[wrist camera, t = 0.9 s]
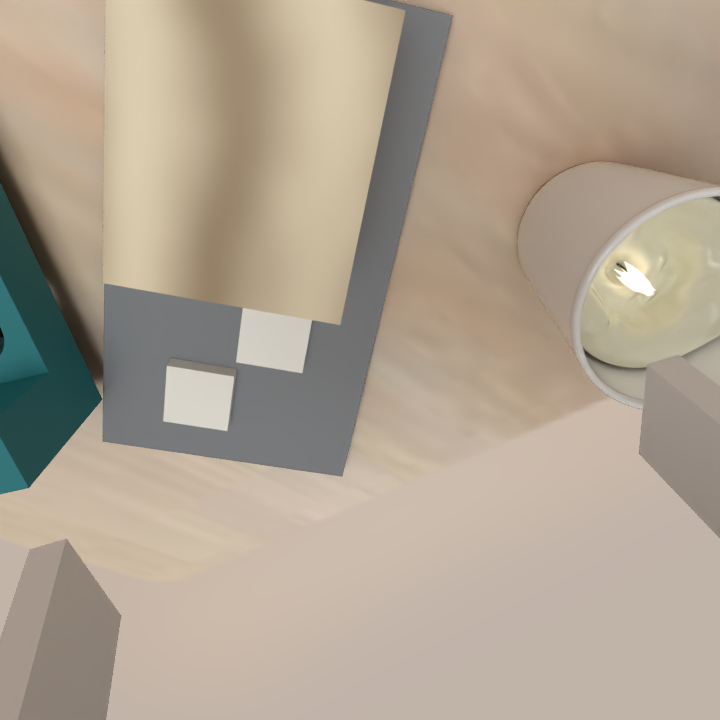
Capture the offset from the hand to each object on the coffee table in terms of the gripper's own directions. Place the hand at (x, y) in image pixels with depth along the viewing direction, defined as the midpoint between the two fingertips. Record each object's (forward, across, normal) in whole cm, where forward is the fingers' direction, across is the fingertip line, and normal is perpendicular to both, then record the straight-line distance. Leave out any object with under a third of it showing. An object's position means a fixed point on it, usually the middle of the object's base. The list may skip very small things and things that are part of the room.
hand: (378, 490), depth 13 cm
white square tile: (+23, +8, +10) cm, 26 cm away
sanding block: (+23, 0, -4) cm, 23 cm away
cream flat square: (+22, +2, +7) cm, 23 cm away
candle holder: (+21, -17, +6) cm, 27 cm away
